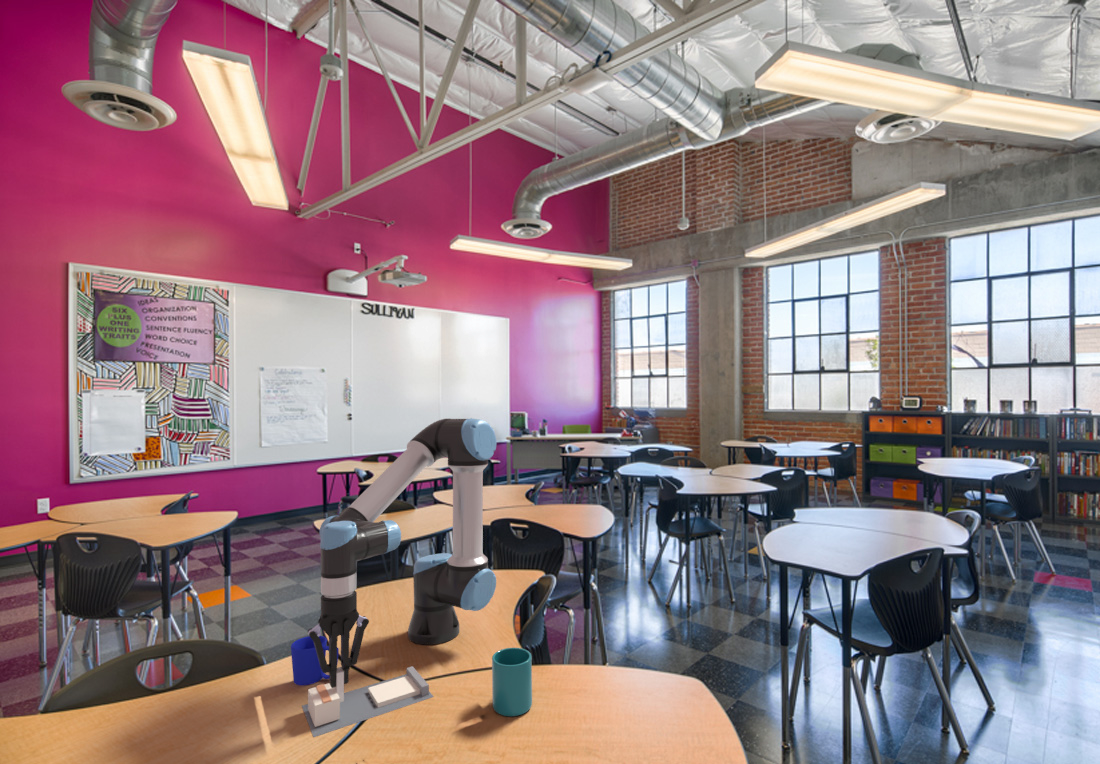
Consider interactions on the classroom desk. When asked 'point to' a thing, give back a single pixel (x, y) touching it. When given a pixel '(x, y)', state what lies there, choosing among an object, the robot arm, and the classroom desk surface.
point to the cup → (512, 681)
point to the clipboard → (375, 700)
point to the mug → (307, 661)
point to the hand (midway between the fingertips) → (339, 699)
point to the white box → (323, 704)
